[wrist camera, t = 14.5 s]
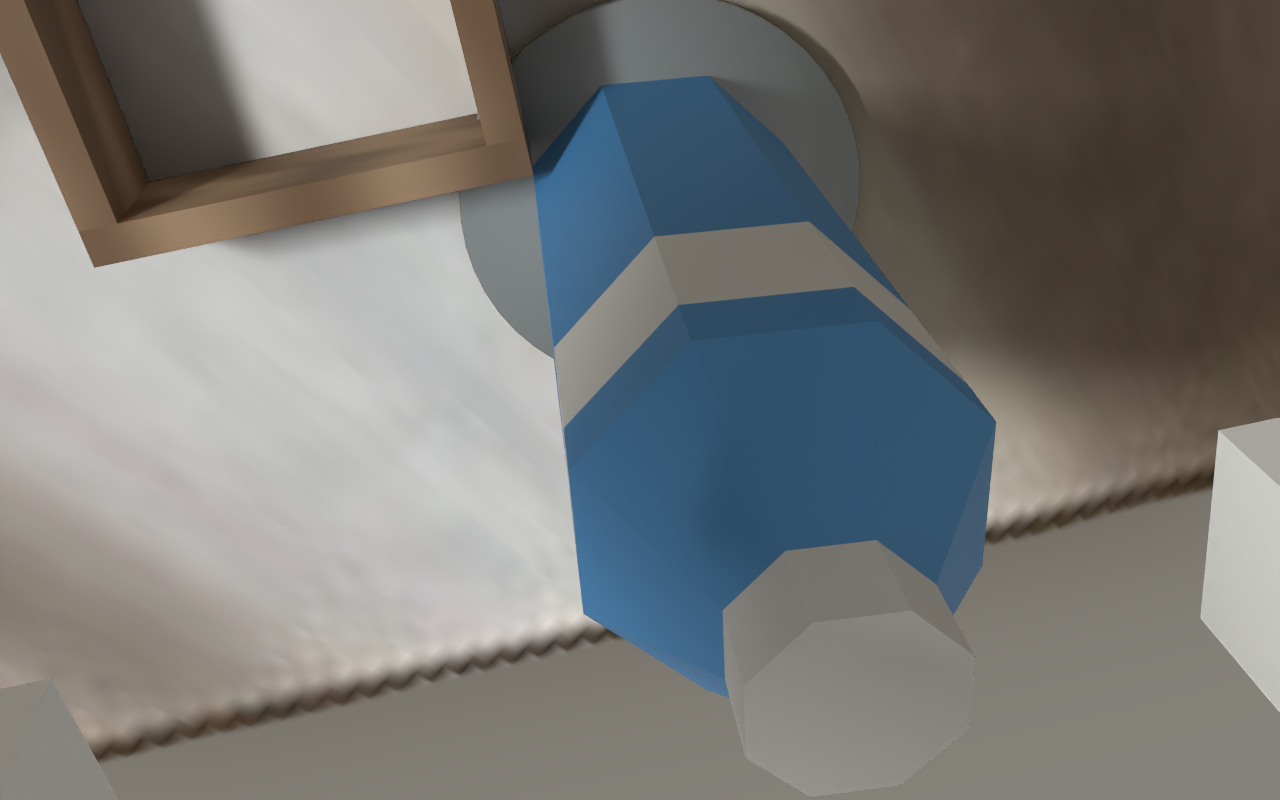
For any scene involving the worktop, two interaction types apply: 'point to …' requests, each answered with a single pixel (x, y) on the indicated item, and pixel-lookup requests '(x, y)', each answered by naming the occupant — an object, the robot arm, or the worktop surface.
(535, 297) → the coaster
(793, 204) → the water bottle
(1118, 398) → the worktop surface
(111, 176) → the square wooden frame
